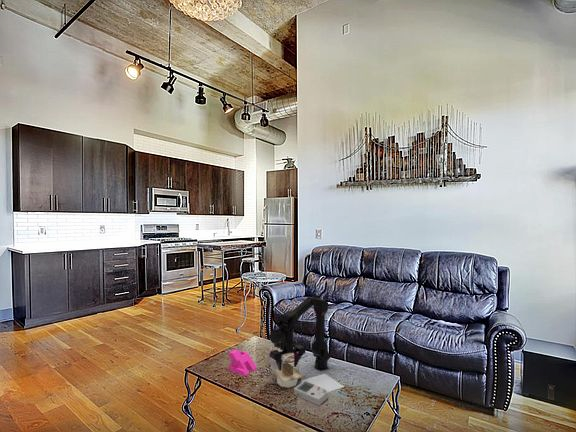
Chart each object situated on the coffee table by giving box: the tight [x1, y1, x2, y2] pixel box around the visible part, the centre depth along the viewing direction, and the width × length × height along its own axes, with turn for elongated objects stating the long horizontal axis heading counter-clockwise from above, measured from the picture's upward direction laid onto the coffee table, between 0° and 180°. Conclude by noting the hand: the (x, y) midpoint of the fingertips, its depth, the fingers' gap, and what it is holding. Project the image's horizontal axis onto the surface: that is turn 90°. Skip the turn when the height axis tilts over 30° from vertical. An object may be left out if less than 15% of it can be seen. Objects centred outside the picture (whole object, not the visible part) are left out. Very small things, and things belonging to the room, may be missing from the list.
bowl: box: [276, 376, 299, 388], centre depth 169 cm, size 10×10×4 cm
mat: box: [300, 373, 345, 393], centre depth 168 cm, size 16×16×1 cm
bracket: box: [228, 348, 258, 377], centre depth 183 cm, size 12×10×10 cm
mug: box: [266, 345, 285, 372], centre depth 184 cm, size 8×12×12 cm, turn 47°
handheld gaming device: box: [293, 379, 329, 406], centre depth 156 cm, size 9×15×4 cm, turn 50°
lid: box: [271, 362, 304, 382], centre depth 169 cm, size 12×12×5 cm
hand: (287, 368), depth 169 cm, fingers open, 9 cm apart
